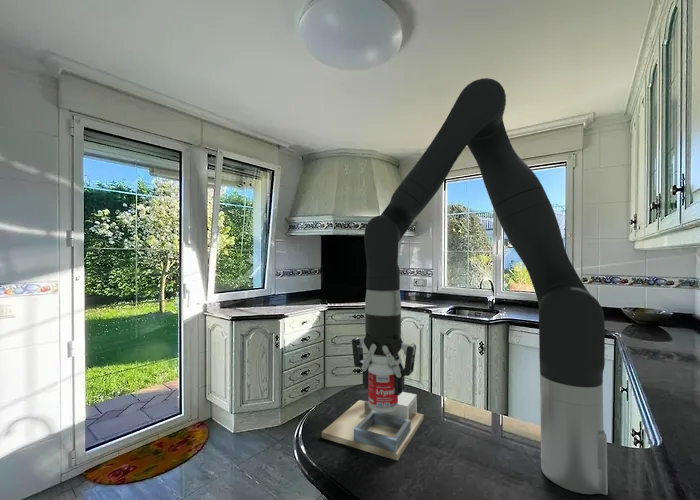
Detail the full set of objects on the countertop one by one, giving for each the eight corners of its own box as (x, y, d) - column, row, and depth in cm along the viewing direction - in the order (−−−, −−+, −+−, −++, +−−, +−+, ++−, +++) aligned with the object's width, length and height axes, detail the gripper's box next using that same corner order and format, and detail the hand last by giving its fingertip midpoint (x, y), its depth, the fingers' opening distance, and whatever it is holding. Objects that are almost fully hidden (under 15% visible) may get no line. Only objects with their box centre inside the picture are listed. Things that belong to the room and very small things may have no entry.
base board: (423, 419, 79) (423, 403, 79) (397, 460, 63) (397, 440, 63) (359, 404, 87) (359, 390, 87) (321, 437, 71) (321, 420, 71)
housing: (416, 413, 79) (416, 394, 79) (407, 427, 73) (407, 406, 73) (389, 407, 82) (389, 389, 82) (378, 419, 76) (378, 399, 76)
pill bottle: (375, 415, 66) (373, 359, 66) (364, 403, 72) (363, 351, 72) (403, 411, 68) (402, 356, 68) (391, 399, 73) (389, 348, 74)
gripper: (421, 311, 70) (421, 391, 70) (360, 306, 77) (360, 378, 77) (410, 316, 63) (410, 405, 63) (344, 310, 70) (344, 390, 70)
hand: (382, 390), depth 70 cm, fingers closed on pill bottle, 6 cm apart
